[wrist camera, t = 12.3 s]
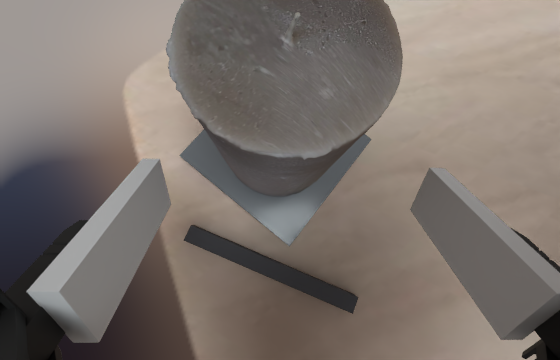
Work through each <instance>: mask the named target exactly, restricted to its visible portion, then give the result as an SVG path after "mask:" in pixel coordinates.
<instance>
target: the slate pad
mask: <svg viewBox="0 0 560 360" xmlns="http://www.w3.org/2000/svg"><path fill="white" fill-rule="evenodd" d="M370 141H371V139H370V138H369V137H368V136H366V135H365V134H364V135H363V136H361V137H360V138H359V139H358V140H357V141H356V142H355V143H354V144H353V145H352V146H351V147H350V148H349V149H348V150H347V151H346V152H345V153H344V154H343V155H342V156H341V157H340V158H339V159H338V160H337V161H336V162H335V163H334V164H333V165H332V166H331V167H330V168H329V169H328V170H327V171H326V172H325V173H324V174H323V175H322V176H321V177H320V178H319V179H318V180H317V181H316V182H315V183H313V184H312V185H310V186H309V187H308V188H306V189H304V190H303V191H301V192H299V193H297V194H292V195H289V196H277V197H276V196H267V195H264V194H261V193H258V192H256V191H254V190H252V189H251V188H249V187H247V186H246V185H244V184H243V183H242V182H241V181H240V180H239V179H238V178H237V177H236V175H235V174H234V172H233V171H232V170H231V168H230V167H229V165H228V164H227V162H226V161H225V160H224V158H223V157H222V155H221V153H220V152H219V150H218V149H217V147H216V146H215V144H214V143H213V141H212V140H211V138H210V137H209V135H208V134H207V132H206V131H205V129H204V130H203V131H202V132H201V133H200V134H199V135H198V136H197V137H196V139H195V140H194V141H193V142H192V143H191V144H190V145H189V146H188V147H187V148H186V149H185V150H184V151H183V152H182V153H181V154H180V155H179V156H181V157H182V158H183V159H184V160H185V161H187V162H188V163H189V164H190V165H191V166H193V167H194V168H195V169H196V170H198V171H199V172H200V173H201V174H202V175H204V176H205V177H206V178H207V179H208V180H210V181H211V182H212V183H213V184H215V185H216V186H217V187H218V188H219V189H221V190H222V191H223V192H224V193H225V194H227V195H228V196H229V197H230V198H231V199H233V200H234V201H235V202H236V203H238V204H239V205H240V206H241V207H242V208H244V209H245V210H246V211H247V212H248V213H250V214H251V215H252V216H253V217H254V218H256V219H257V220H258V221H259V222H261V223H262V224H263V225H264V226H265V227H267V228H268V229H269V230H270V231H271V232H273V233H274V234H275V235H276V236H278V237H279V238H280V239H281V240H282V241H284V242H285V243H286V244H287V245H288V246H290V245H291V244H292V242H293V241H294V240H295V238H296V237H297V236H298V234H299V233H300V232H301V230H302V229H303V228H304V227H305V225H306V224H307V223H308V221H309V220H310V219H311V217H312V216H313V215H314V214H315V212H316V211H317V210H318V208H319V207H320V206H321V204H322V203H323V202H324V201H325V199H326V198H327V197H328V195H329V194H330V193H331V191H332V190H333V189H334V187H335V186H336V185H337V184H338V182H339V181H340V180H341V178H342V177H343V176H344V174H345V173H346V172H347V171H348V169H349V168H350V167H351V165H352V164H353V163H354V161H355V160H356V159H357V157H358V156H359V155H360V154H361V152H362V151H363V150H364V148H365V147H366V146H367V144H368V143H369V142H370Z"/></svg>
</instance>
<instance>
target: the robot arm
mask: <svg viewBox="0 0 560 360" xmlns="http://www.w3.org/2000/svg"><path fill="white" fill-rule="evenodd" d="M170 205H171V202H170V198H169V194H168V190H167V186H166V182H165V178H164V174H163V170H162V166H161V163H160V159H142V160H141V161H140V162H139V164H138V165H137V166H136V167H135V168H134V169H133V170H132V172H131V173H130V174H129V175H128V176H127V177H126V178H125V180H124V181H123V182H122V183H121V184H120V185H119V186H118V188H117V189H116V190H115V191H114V192H113V193H112V194H111V196H110V197H109V198H108V199H107V200H106V201H105V202H104V204H103V205H102V206H101V207H100V208H99V209H98V210H97V211H96V213H95V214H94V215H93V216H92V217H91V218H90V220H89V221H87V220H83V221H82V220H79V221H78V222H76V223H75V224H73V225H72V226H70V227H69V228H67V229H66V230H64V231H63V232H62V234H60V235H59V237H58V238H57V239H56V240H55V241H54V242H53V245H50V246H49V247H48V248H47V249H46V250H45V251H44V253H43V255H40V257H39V258H38V259H37V260H36V261H35V262H34V263H33V264H32V265H31V266H30V267H29V268H28V269H27V270H26V271H25V272H24V273H23V274H22V275H21V277H20V278H19V279H18V280H17V281H16V282H15V283H14V284H13V285H12V286H11V287H10V288H9V289H8V290H7V291H6V292H5V293H4V292H3V291H2V290H1V289H0V360H62V354H61V350H60V349H59V347H58V344H59V342H60V340H61V339H62V337H63V336H64V334H66V335H67V336H68V337H69V338H70V339H71V340H72V341H73V342H99V341H100V339H101V338H102V336H103V334H104V332H105V330H106V328H107V326H108V324H109V322H110V320H111V318H112V316H113V314H114V313H115V311H116V308H117V307H118V305H119V303H120V301H121V299H122V297H123V295H124V293H125V291H126V290H127V288H128V286H129V284H130V282H131V280H132V278H133V276H134V274H135V272H136V271H137V269H138V267H139V265H140V263H141V261H142V259H143V257H144V255H145V253H146V251H147V249H148V248H149V246H150V244H151V242H152V240H153V238H154V236H155V234H156V232H157V230H158V228H159V227H160V225H161V223H162V221H163V219H164V217H165V215H166V213H167V211H168V209H169V207H170ZM410 210H411V212H412V213H413V215H414V216H415V217H416V219H417V220H418V222H419V223H420V225H421V226H422V227H423V229H424V230H425V232H426V233H427V235H428V236H429V237H430V239H431V240H432V242H433V243H434V245H435V246H436V247H437V249H438V250H439V252H440V253H441V255H442V256H443V257H444V259H445V260H446V262H447V263H448V265H449V266H450V267H451V269H452V270H453V272H454V273H455V275H456V276H457V277H458V279H459V280H460V282H461V283H462V285H463V286H464V287H465V289H466V290H467V292H468V293H469V295H470V296H471V297H472V299H473V300H474V302H475V303H476V305H477V306H478V308H479V309H480V310H481V312H482V313H483V315H484V316H485V318H486V319H487V320H488V322H489V323H490V325H491V326H492V328H493V329H494V330H495V332H496V333H497V335H498V336H499V338H500V339H501V340H522V339H524V338H525V337H526V336H528V335H529V334H530V333H532V332H533V331H535V332H536V333H537V334H538V335H539V337H540V338H541V340H539V341H538V342H536V343H535V344H534V345H532V346H531V347H529V348H528V349H527V350H525V351H524V352H523V354H522V357H523V358H524V359H527V358H529V357H530V356H532V355H533V354H536V356H537V359H535V360H560V267H559V266H558V265H557V264H556V263H555V262H553V261H552V260H549V257H548V256H547V255H546V254H544V253H543V252H542V251H539V248H538V247H537V246H535V245H534V244H533V243H532V242H531V241H530V240H529V239H527V238H526V237H525V236H523V235H522V234H520V233H518V232H517V231H515V230H514V229H512V228H510V227H509V226H507V225H506V224H505V223H504V222H503V221H502V220H501V219H500V218H499V217H498V216H496V215H495V214H494V213H493V212H492V211H491V210H490V209H489V208H488V207H487V206H485V205H484V204H483V203H482V202H481V201H480V200H479V199H478V198H477V197H475V196H474V195H473V194H472V193H471V192H470V191H469V190H468V189H467V188H466V187H464V186H463V185H462V184H461V183H460V182H459V181H458V180H457V179H456V178H455V177H453V176H452V175H451V174H450V173H449V172H448V171H447V170H446V169H445V168H429V170H428V172H427V174H426V176H425V178H424V181H423V183H422V185H421V187H420V189H419V191H418V194H417V196H416V198H415V200H414V202H413V204H412V207H411V209H410Z"/></svg>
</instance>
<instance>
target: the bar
mask: <svg viewBox="0 0 560 360" xmlns="http://www.w3.org/2000/svg"><path fill="white" fill-rule="evenodd" d="M184 241H186V242H189V243H191V244H193V245H196V246H198V247H200V248H203V249H205V250H207V251H210V252H212V253H214V254H216V255H219V256H221V257H223V258H226V259H228V260H230V261H233V262H235V263H237V264H240V265H242V266H244V267H246V268H249V269H251V270H253V271H256V272H258V273H260V274H263V275H265V276H267V277H269V278H272V279H274V280H276V281H279V282H281V283H283V284H286V285H288V286H290V287H293V288H295V289H297V290H299V291H302V292H304V293H306V294H309V295H311V296H313V297H316V298H318V299H320V300H323V301H325V302H327V303H329V304H332V305H334V306H336V307H339V308H341V309H343V310H346V311H348V312H350V313H353V312H354V309H355V306H356V303H357V300H358V297H357V296H355V295H354V294H352V293H350V292H347V291H345V290H343V289H340V288H338V287H336V286H333V285H331V284H329V283H326V282H324V281H322V280H320V279H317V278H315V277H313V276H310V275H308V274H306V273H303V272H301V271H299V270H296V269H294V268H292V267H289V266H287V265H285V264H283V263H280V262H278V261H276V260H273V259H271V258H269V257H266V256H264V255H262V254H259V253H257V252H255V251H252V250H250V249H248V248H245V247H243V246H241V245H239V244H236V243H234V242H232V241H229V240H227V239H225V238H222V237H220V236H218V235H215V234H213V233H211V232H208V231H206V230H204V229H202V228H199V227H197V226H195V225H191V227H190V229H189V231H188V233H187V235H186V237H185V239H184Z"/></svg>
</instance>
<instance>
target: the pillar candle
mask: <svg viewBox="0 0 560 360" xmlns="http://www.w3.org/2000/svg"><path fill="white" fill-rule="evenodd" d="M166 52H167V55H168V56H169V59H170V60H169V67H168V68H169V71H170V77H171V78H172V80H173V81H174V82H175V83H176V90H177V91H179V92H180V93H181V95H182V97H183V99H184V100H185V102H186V103H187V105H188V107H189V108H190V109H191V113H192V114H193V115H194V117H195V119H198V121H199V122H200V123H201V125H202V126H203V128H204V129H205V131H206V132H207V134H208V135H209V137H210V138H211V140H212V141H213V143H214V144H215V146H216V147H217V149H218V150H219V152H220V153H221V155H222V157H223V158H224V160H225V161H226V162H227V164H228V165H229V167H230V168H231V170H232V171H233V172H234V174H235V175H236V177H237V178H238V179H239V180H240V181H241V182H242V183H243V184H244V185H246V186H247V187H249V188H251V189H252V190H254V191H256V192H258V193H261V194H264V195H267V196H276V197H277V196H289V195H292V194H297V193H299V192H301V191H303V190H304V189H306V188H308V187H309V186H310V185H312V184H313V183H315V182H316V181H317V180H318V179H319V178H320V177H321V176H322V175H323V174H324V173H325V172H326V171H327V170H328V169H329V168H330V167H331V166H332V165H333V164H334V163H335V162H336V161H337V160H338V159H339V158H340V157H341V156H342V155H343V154H344V153H345V152H346V151H347V150H348V149H349V148H350V147H351V146H352V145H353V144H354V143H355V142H356V141H357V140H358V139H359V138H360V137H361V136H363V135H364V134H365V133H366V132H367V130H369V129H370V128H371V127H372V126H373V125H374V124H375V123H376V122H377V121H378V119H379V118H380V117H381V115H382V114H383V113H384V111H385V110H386V109H387V107H388V106H389V104H390V102H391V100H392V98H393V96H394V95H395V92H396V90H397V88H398V85H399V82H400V77H401V70H402V59H403V56H402V48H401V41H400V36H399V32H398V29H397V25H396V22H395V20H394V18H393V16H392V14H391V11H390V9H389V6H388V5H387V4H386V3H385V2H384V0H184V2H183V4H181V7H180V9H179V11H178V13H177V15H176V18H175V23H174V25H173V29H172V33H171V38H170V39H169V40H168V43H167V47H166Z"/></svg>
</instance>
